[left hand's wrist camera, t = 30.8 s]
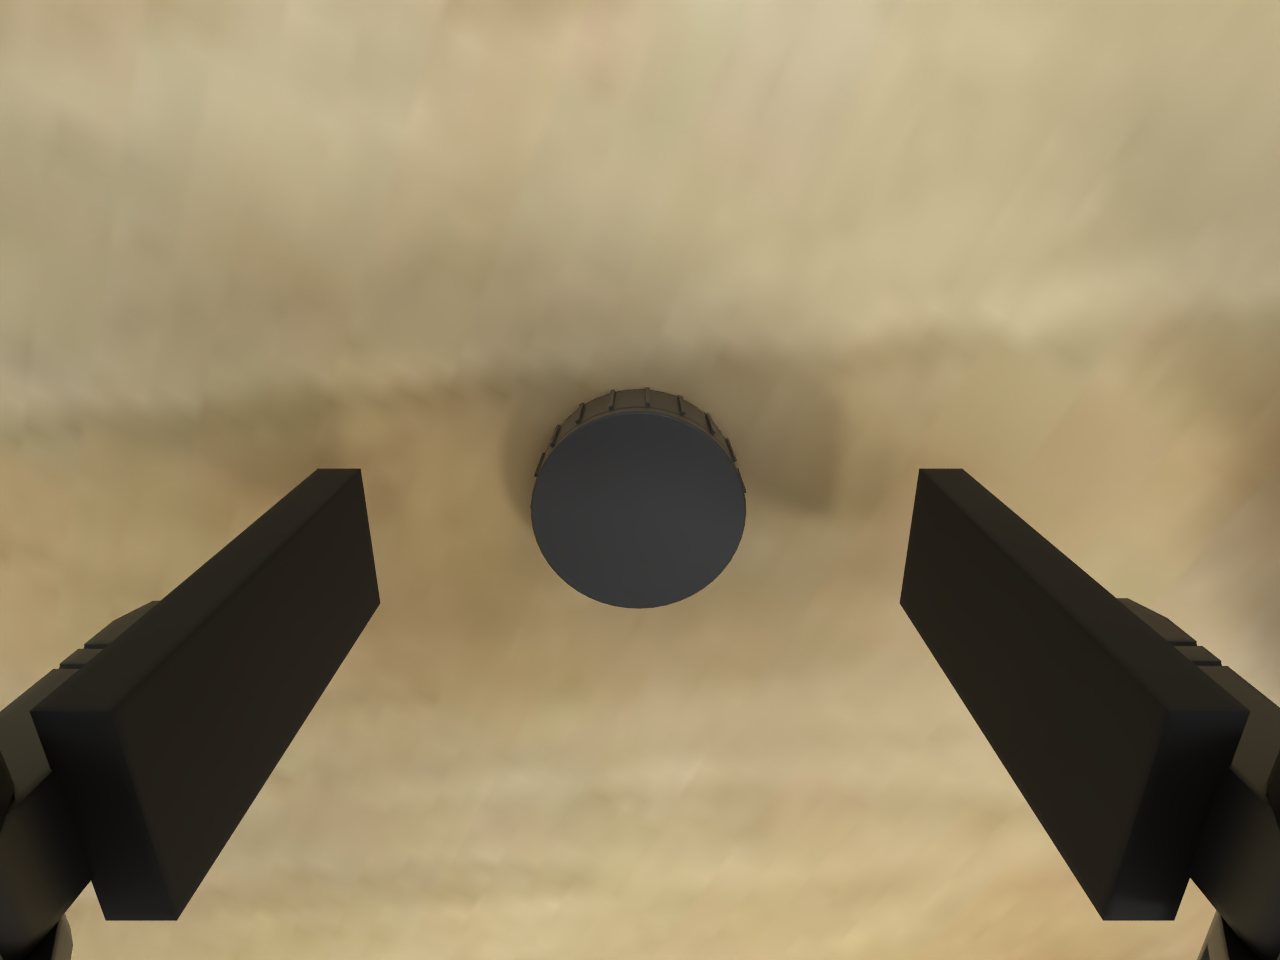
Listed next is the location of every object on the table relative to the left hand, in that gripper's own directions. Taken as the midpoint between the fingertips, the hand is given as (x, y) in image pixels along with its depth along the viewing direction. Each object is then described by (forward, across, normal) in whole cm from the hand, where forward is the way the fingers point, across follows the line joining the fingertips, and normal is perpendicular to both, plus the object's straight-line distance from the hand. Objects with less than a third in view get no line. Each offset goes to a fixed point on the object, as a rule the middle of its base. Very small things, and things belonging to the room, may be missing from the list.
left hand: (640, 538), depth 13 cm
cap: (+1, 0, 0) cm, 1 cm away
